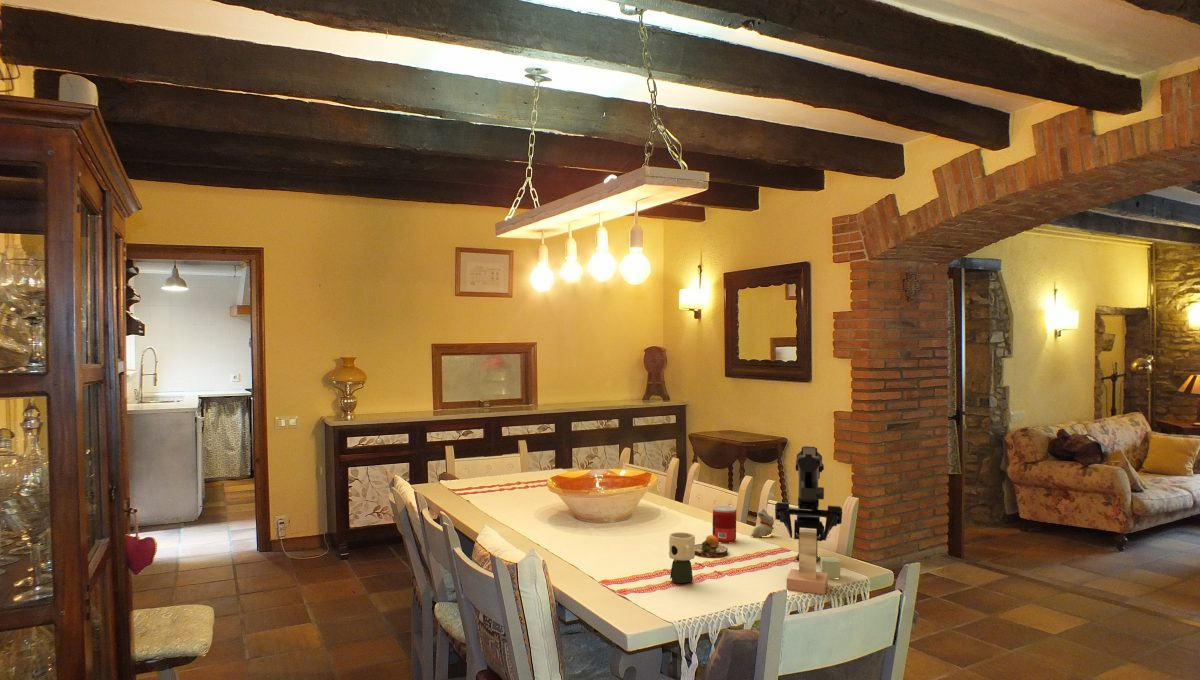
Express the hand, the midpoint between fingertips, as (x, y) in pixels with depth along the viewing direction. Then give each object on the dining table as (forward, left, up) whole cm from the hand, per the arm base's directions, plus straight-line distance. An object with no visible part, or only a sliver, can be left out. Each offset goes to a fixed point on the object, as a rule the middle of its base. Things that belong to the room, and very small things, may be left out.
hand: (807, 538), depth 216 cm
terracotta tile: (+7, +1, -12) cm, 13 cm away
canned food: (-35, -31, -12) cm, 49 cm away
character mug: (+17, -32, -12) cm, 38 cm away
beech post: (+7, +1, -9) cm, 11 cm away
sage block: (-6, +6, -12) cm, 14 cm away
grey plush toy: (-47, -20, -12) cm, 53 cm away
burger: (-17, -32, -12) cm, 39 cm away
